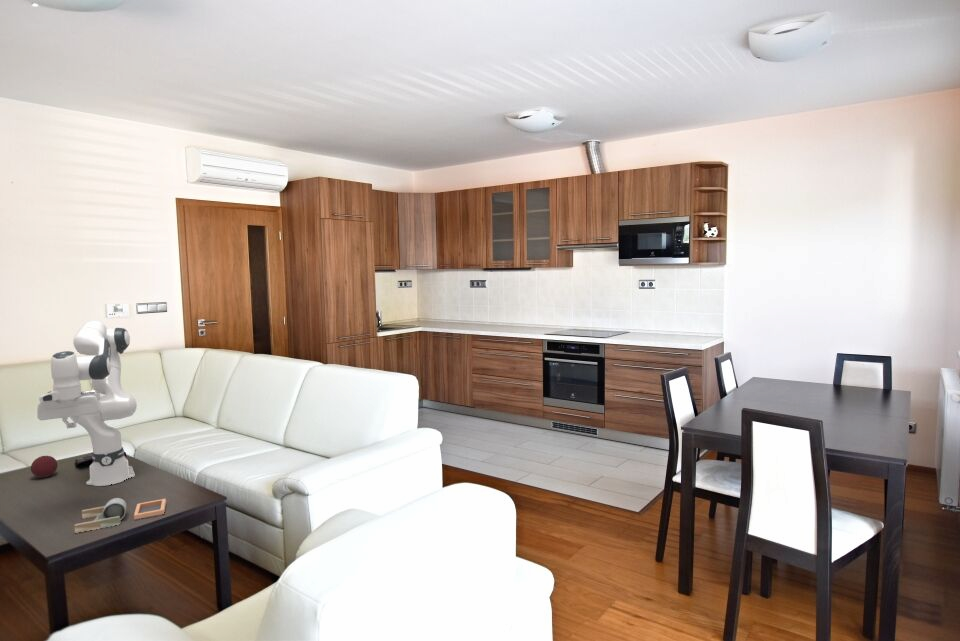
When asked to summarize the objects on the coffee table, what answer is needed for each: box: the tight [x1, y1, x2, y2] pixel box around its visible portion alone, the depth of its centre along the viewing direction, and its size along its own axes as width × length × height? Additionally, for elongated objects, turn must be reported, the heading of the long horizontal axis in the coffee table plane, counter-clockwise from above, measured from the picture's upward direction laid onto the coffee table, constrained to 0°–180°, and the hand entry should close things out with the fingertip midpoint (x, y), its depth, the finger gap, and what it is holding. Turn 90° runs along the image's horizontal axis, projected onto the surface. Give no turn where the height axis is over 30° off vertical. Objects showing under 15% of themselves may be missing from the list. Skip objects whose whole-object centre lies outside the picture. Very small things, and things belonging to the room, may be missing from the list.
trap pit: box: [133, 498, 167, 521], centre depth 225 cm, size 12×10×2 cm
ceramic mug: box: [93, 497, 128, 521], centre depth 218 cm, size 11×8×8 cm
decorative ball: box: [30, 455, 58, 479], centre depth 266 cm, size 10×10×10 cm
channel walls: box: [74, 505, 121, 534], centre depth 217 cm, size 15×14×3 cm
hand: (71, 427), depth 224 cm, fingers closed
